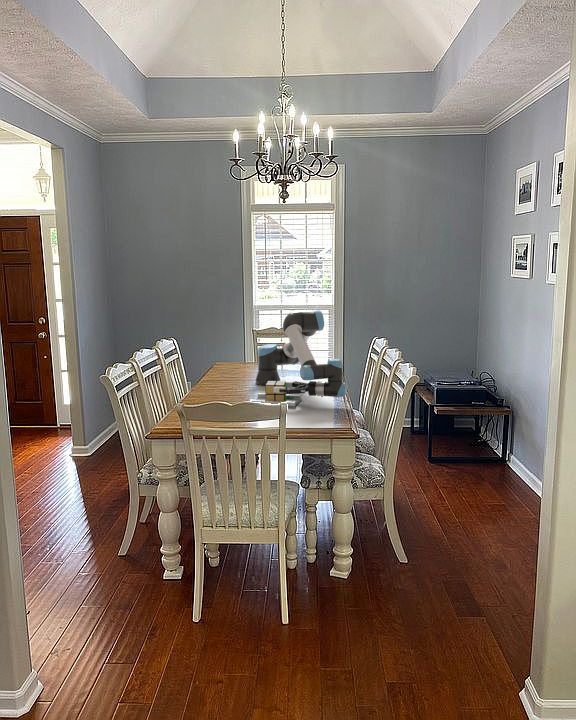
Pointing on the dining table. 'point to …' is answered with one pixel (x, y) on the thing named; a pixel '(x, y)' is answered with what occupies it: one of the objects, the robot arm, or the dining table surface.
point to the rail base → (290, 399)
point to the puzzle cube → (270, 394)
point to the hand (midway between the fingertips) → (276, 387)
